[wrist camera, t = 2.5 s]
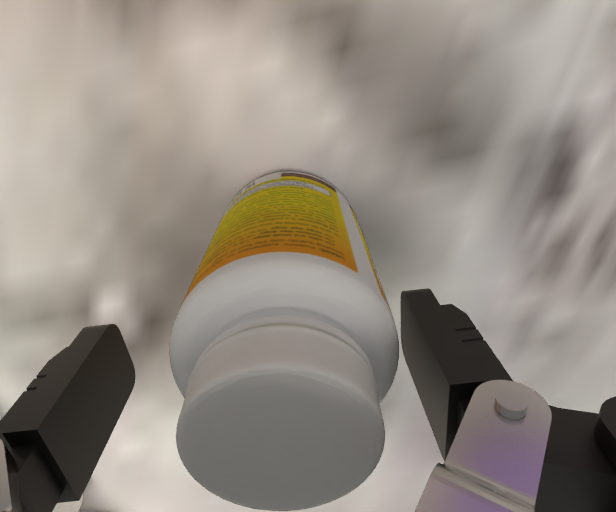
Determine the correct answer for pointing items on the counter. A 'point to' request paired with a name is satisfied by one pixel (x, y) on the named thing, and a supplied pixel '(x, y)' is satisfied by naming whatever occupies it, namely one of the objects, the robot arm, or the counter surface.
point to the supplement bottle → (284, 350)
